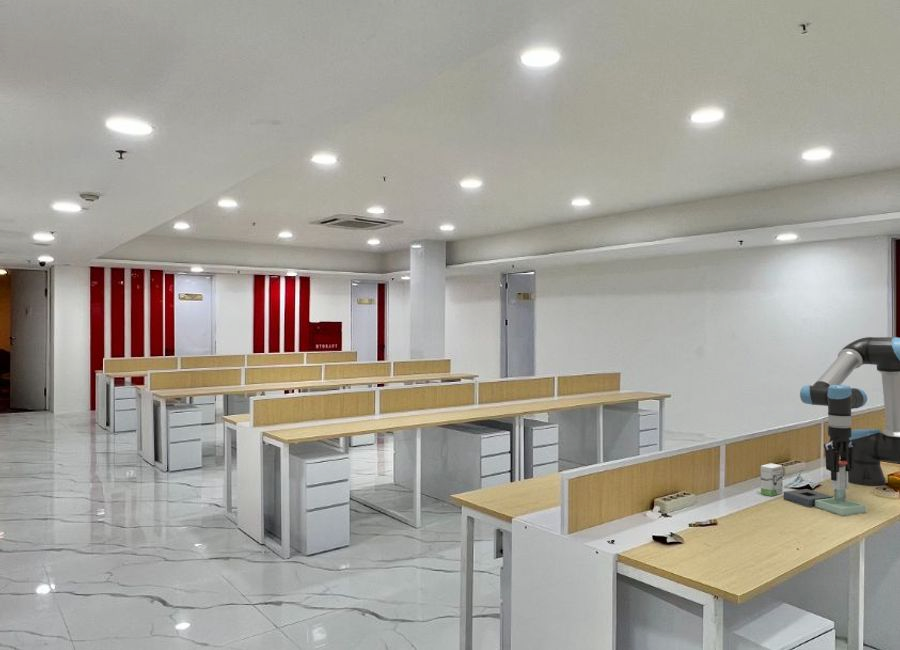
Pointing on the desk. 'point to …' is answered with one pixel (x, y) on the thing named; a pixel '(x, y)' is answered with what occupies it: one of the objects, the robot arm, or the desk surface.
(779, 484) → the ink box
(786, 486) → the desk surface
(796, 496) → the block
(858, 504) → the tray
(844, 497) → the red capped clear bottle
